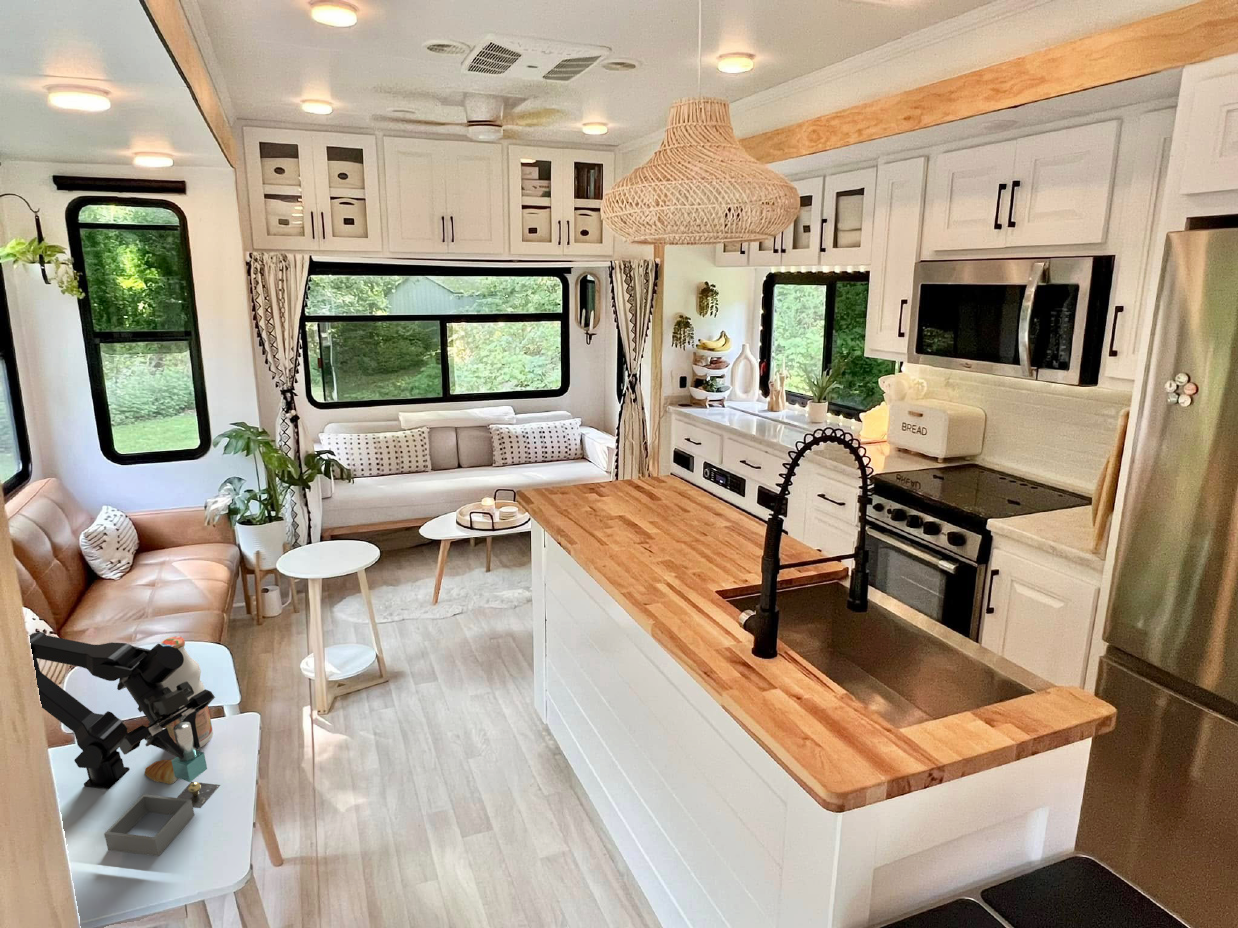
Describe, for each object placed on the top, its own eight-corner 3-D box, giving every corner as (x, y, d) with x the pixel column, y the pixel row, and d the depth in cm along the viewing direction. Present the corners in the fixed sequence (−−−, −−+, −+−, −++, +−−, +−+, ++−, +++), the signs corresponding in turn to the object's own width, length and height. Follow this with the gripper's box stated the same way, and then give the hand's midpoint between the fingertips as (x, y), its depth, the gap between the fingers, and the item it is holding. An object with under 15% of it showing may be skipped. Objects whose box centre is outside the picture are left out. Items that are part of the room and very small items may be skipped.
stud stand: (171, 808, 166) (167, 793, 165) (192, 785, 173) (189, 770, 172) (201, 811, 166) (198, 796, 164) (221, 788, 172) (218, 773, 171)
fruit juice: (161, 753, 183) (138, 651, 174) (186, 728, 192) (166, 629, 183) (198, 756, 182) (178, 653, 173) (221, 731, 191) (203, 632, 182)
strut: (174, 776, 166) (165, 730, 162) (192, 763, 170) (183, 717, 166) (190, 782, 164) (180, 735, 161) (207, 768, 168) (198, 722, 164)
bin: (109, 853, 155) (104, 833, 153) (147, 812, 165) (143, 794, 163) (159, 859, 153) (154, 839, 152) (195, 818, 164) (191, 799, 162)
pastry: (137, 782, 174) (134, 768, 173) (160, 762, 180) (157, 749, 179) (173, 789, 172) (170, 775, 171) (195, 769, 178) (192, 755, 177)
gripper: (116, 702, 154) (160, 766, 152) (202, 656, 169) (243, 714, 168) (101, 723, 160) (143, 784, 158) (185, 677, 175) (224, 733, 174)
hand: (190, 752), depth 165 cm, fingers closed on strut, 3 cm apart
